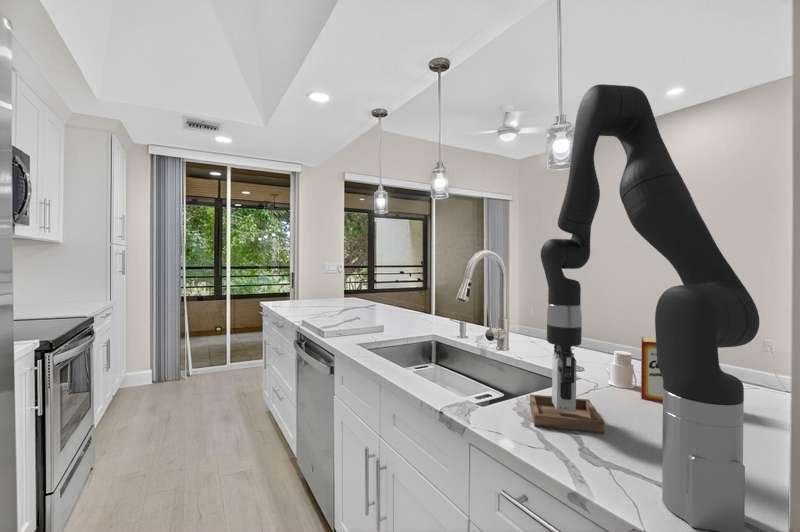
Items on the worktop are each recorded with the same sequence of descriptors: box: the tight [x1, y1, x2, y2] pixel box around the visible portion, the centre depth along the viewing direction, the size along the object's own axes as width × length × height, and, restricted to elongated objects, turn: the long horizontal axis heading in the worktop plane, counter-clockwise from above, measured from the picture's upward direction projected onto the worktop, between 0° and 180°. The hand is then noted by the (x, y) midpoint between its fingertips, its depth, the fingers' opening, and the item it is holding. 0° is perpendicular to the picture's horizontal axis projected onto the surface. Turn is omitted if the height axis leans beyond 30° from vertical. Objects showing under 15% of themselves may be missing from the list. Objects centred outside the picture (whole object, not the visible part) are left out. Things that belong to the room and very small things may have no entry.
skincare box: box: [551, 352, 577, 412], centre depth 89 cm, size 6×4×12 cm
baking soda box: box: [640, 337, 663, 403], centre depth 102 cm, size 10×6×16 cm
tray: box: [529, 393, 605, 435], centre depth 89 cm, size 14×14×2 cm
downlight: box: [606, 350, 637, 390], centre depth 113 cm, size 8×7×10 cm
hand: (563, 393), depth 89 cm, fingers closed on skincare box, 6 cm apart
